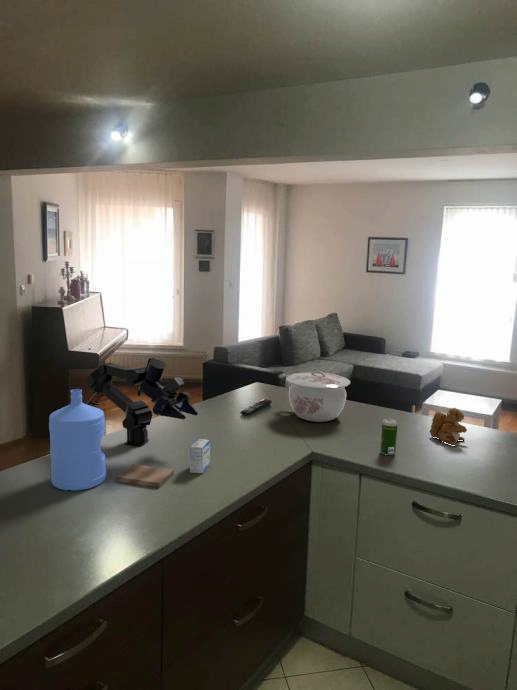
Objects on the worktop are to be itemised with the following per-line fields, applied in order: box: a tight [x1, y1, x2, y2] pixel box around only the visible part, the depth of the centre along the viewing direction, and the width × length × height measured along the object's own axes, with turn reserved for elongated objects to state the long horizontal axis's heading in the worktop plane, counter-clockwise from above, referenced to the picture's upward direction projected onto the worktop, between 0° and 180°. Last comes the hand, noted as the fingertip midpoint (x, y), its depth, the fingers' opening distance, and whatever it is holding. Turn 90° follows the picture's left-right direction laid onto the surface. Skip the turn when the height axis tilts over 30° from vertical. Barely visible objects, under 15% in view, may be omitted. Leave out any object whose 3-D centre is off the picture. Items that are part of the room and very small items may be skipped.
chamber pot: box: [285, 370, 351, 423], centre depth 225 cm, size 28×28×21 cm
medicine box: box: [189, 438, 211, 474], centre depth 169 cm, size 8×4×9 cm, turn 168°
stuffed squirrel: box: [429, 407, 468, 446], centre depth 201 cm, size 10×14×13 cm
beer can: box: [379, 418, 399, 456], centre depth 186 cm, size 5×5×12 cm
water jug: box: [48, 388, 107, 492], centre depth 156 cm, size 16×16×28 cm
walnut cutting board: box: [116, 463, 175, 489], centre depth 161 cm, size 14×10×2 cm
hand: (191, 416), depth 177 cm, fingers open, 9 cm apart
